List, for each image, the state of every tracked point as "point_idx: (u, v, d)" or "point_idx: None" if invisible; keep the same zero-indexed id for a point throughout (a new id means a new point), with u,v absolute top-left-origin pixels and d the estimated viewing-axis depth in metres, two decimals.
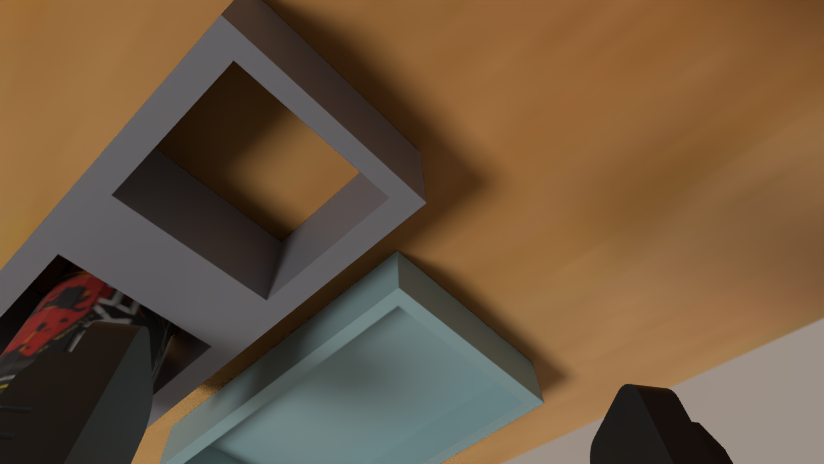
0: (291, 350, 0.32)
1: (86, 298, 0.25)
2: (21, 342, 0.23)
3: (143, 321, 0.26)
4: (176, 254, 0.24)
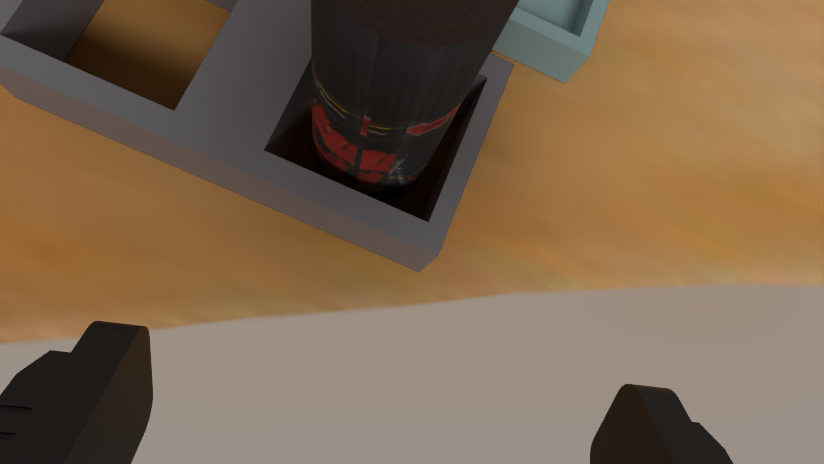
0: None
1: (314, 123, 0.25)
2: (334, 133, 0.22)
3: None
4: (224, 51, 0.25)
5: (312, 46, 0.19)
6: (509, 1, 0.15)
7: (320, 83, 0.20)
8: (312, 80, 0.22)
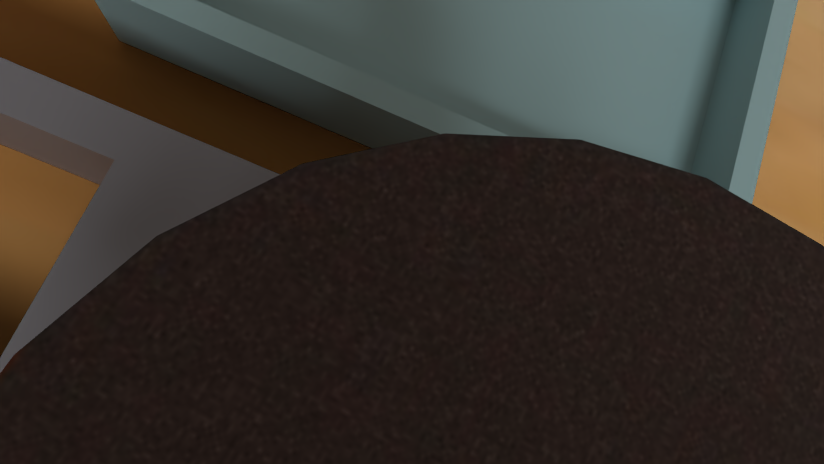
0: (353, 119, 0.17)
1: None
2: None
3: None
4: None
5: None
6: None
7: None
8: None
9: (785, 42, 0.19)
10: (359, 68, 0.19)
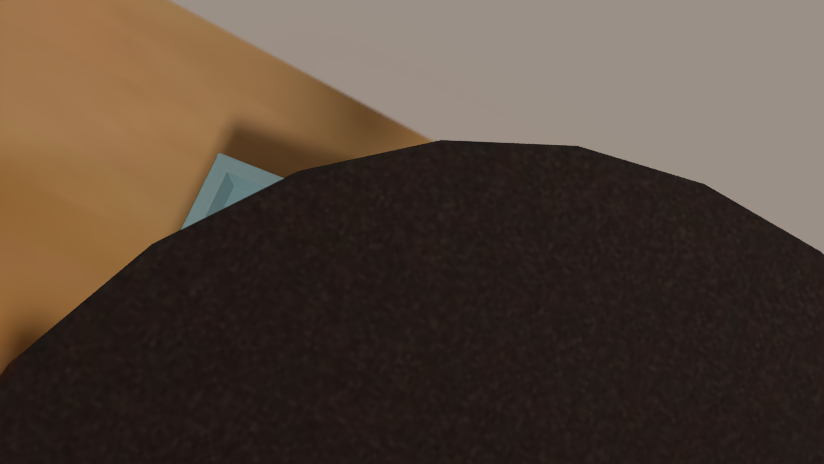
0: None
1: None
2: None
3: None
4: None
5: None
6: None
7: None
8: None
9: None
10: None
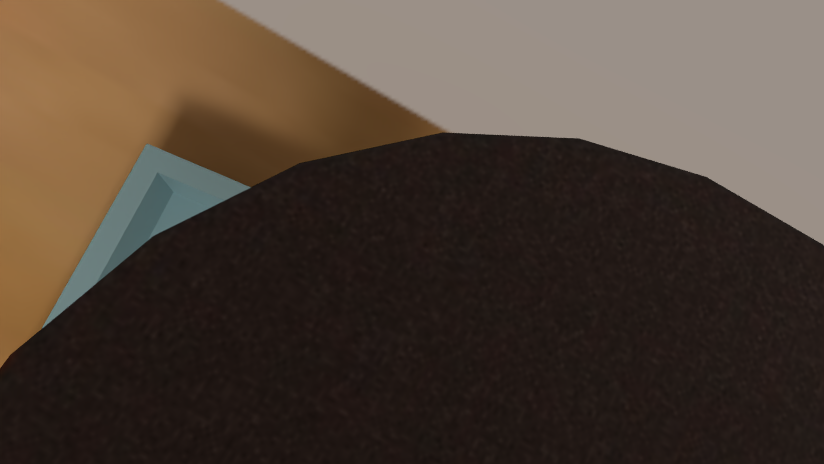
0: None
1: None
2: None
3: None
4: None
5: None
6: None
7: None
8: None
9: None
10: None
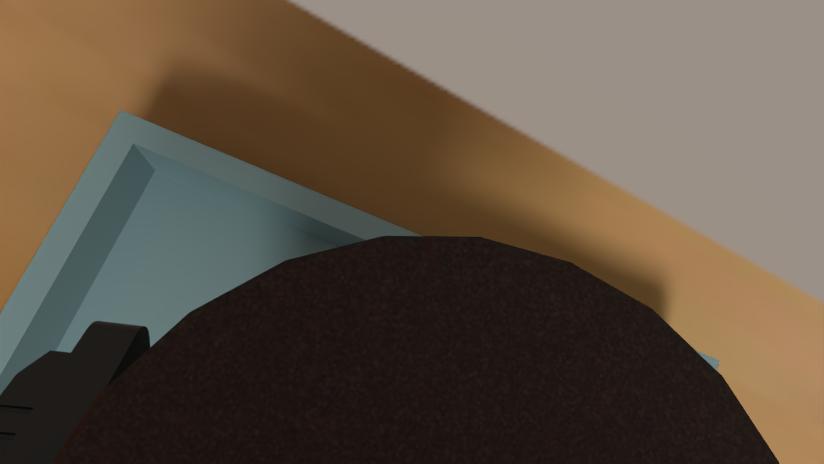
0: None
1: None
2: None
3: None
4: None
5: None
6: None
7: None
8: None
9: None
10: None
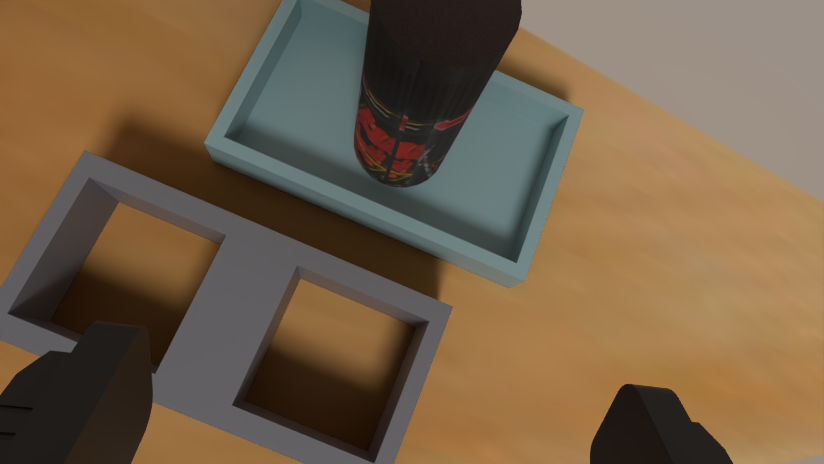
0: (334, 206, 0.34)
1: (359, 122, 0.32)
2: (377, 129, 0.30)
3: None
4: (199, 314, 0.29)
5: (366, 65, 0.26)
6: (508, 35, 0.23)
7: (370, 92, 0.27)
8: (362, 89, 0.29)
9: (564, 164, 0.36)
10: (338, 175, 0.36)
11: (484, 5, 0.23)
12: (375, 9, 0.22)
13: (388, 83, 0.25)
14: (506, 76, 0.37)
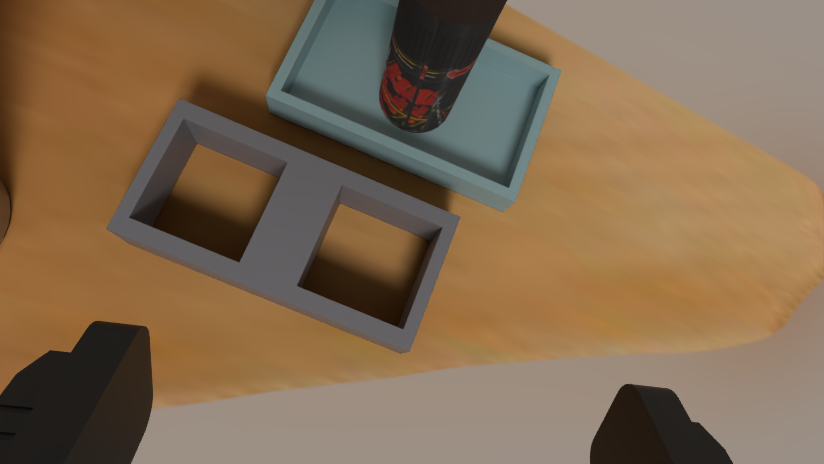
0: (366, 145, 0.44)
1: (386, 78, 0.42)
2: (402, 80, 0.39)
3: None
4: (269, 220, 0.39)
5: (396, 28, 0.36)
6: (501, 2, 0.32)
7: (399, 49, 0.37)
8: (391, 49, 0.38)
9: (545, 112, 0.45)
10: (368, 123, 0.45)
11: None
12: None
13: (414, 40, 0.34)
14: (499, 44, 0.46)
